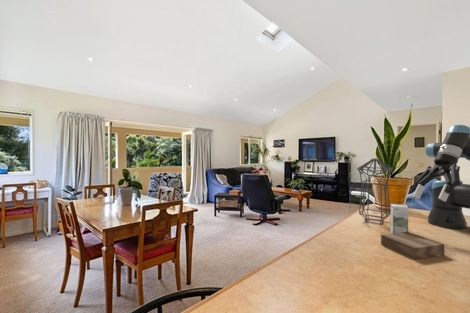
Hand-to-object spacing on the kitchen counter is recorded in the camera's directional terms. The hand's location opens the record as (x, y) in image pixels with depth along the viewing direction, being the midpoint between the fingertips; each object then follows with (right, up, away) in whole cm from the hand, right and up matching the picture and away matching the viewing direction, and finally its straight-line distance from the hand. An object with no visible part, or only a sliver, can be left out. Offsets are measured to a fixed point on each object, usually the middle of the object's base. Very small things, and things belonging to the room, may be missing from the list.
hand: (428, 198), depth 102 cm
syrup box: (-11, -18, +3) cm, 21 cm away
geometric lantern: (-8, -17, +25) cm, 32 cm away
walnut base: (-16, -18, -11) cm, 26 cm away
